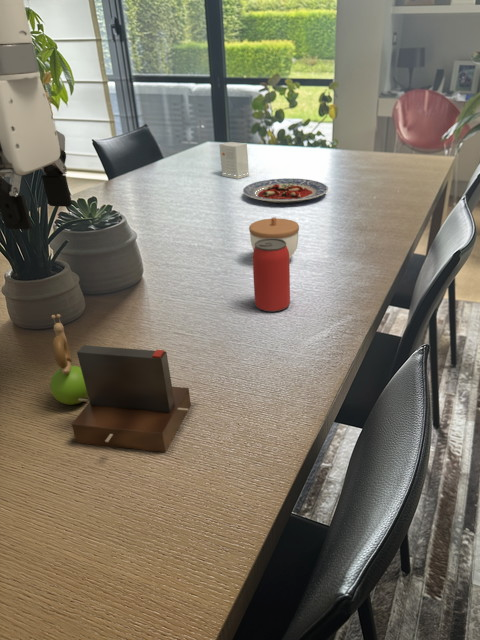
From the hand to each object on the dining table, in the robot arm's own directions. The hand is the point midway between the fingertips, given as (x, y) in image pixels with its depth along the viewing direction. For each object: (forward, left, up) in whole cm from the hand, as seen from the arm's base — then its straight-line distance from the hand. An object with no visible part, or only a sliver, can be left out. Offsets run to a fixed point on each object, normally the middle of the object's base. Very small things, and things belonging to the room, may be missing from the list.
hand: (41, 216), depth 71 cm
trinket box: (+20, +51, -24) cm, 60 cm away
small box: (-9, +128, -24) cm, 131 cm away
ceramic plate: (+13, +104, -24) cm, 108 cm away
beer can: (+24, +28, -24) cm, 44 cm away
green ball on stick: (+2, -6, -24) cm, 25 cm away
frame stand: (+13, -10, -24) cm, 29 cm away
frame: (+13, -10, -21) cm, 27 cm away
